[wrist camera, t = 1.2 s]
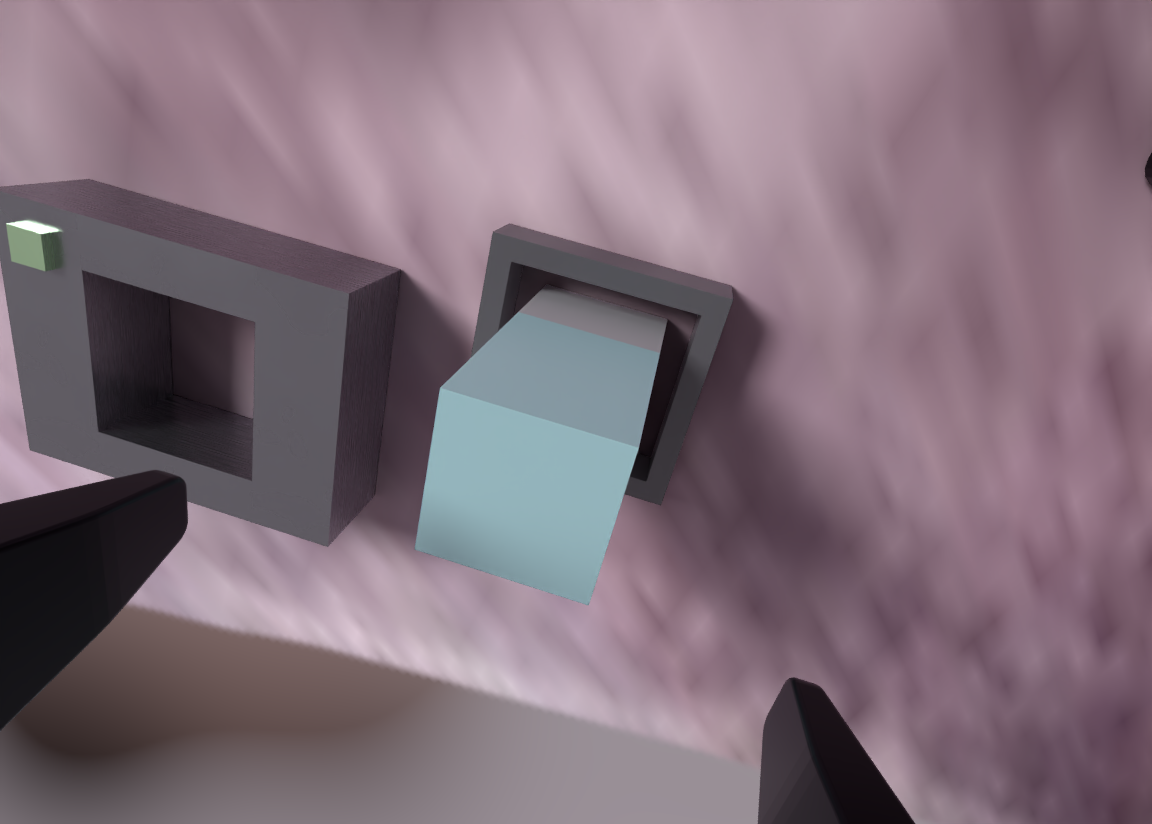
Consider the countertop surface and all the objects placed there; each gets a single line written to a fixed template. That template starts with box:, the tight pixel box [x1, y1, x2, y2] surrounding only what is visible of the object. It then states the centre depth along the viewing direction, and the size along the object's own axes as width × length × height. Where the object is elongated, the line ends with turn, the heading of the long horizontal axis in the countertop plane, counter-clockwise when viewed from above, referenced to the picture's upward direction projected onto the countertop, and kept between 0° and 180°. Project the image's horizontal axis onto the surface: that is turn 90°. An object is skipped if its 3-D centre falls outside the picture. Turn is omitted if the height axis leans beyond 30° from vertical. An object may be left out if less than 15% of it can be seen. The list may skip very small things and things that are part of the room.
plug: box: [415, 285, 668, 605], centre depth 15 cm, size 4×4×8 cm
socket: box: [0, 179, 401, 547], centre depth 19 cm, size 10×8×3 cm
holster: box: [471, 224, 733, 505], centre depth 18 cm, size 6×6×2 cm
